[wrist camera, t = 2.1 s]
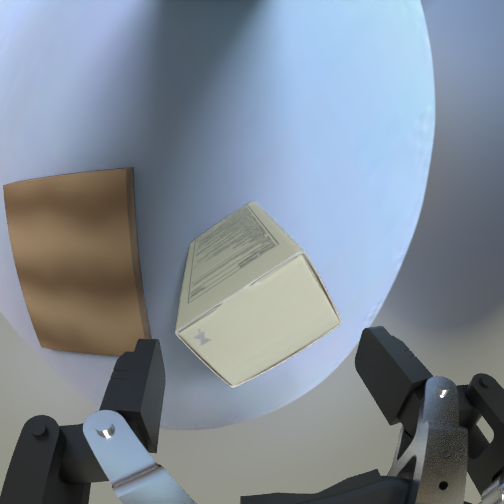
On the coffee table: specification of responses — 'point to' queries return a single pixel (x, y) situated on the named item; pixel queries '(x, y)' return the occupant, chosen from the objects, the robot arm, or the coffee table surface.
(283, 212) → the coffee table surface
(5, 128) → the coffee table surface
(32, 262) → the walnut board
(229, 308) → the skincare box
